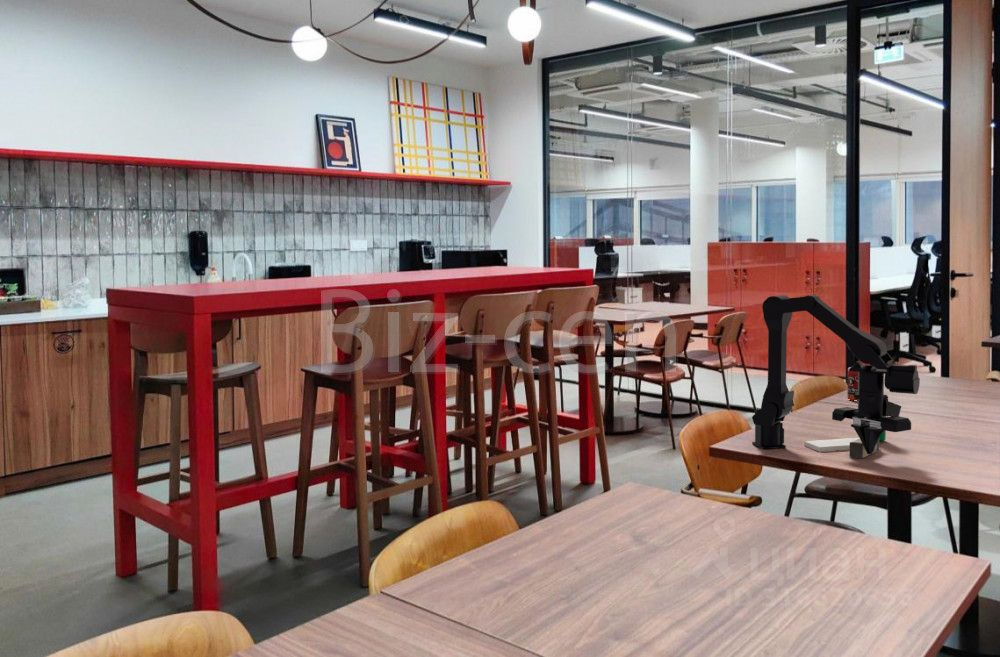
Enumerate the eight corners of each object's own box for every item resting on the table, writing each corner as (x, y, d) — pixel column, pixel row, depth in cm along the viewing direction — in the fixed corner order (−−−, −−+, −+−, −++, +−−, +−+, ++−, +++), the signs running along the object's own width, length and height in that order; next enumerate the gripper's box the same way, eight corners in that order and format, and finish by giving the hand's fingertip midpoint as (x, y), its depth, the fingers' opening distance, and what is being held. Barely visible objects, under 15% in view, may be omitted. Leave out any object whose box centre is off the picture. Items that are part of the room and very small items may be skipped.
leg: (869, 447, 214) (869, 433, 213) (881, 449, 212) (881, 435, 211) (849, 456, 204) (849, 442, 204) (861, 458, 202) (861, 444, 202)
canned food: (842, 399, 284) (842, 367, 283) (861, 397, 286) (862, 366, 285) (858, 402, 277) (858, 370, 276) (877, 401, 279) (878, 368, 278)
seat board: (827, 455, 207) (827, 450, 207) (804, 445, 218) (804, 441, 217) (884, 451, 210) (884, 446, 210) (858, 442, 221) (858, 437, 221)
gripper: (927, 392, 196) (926, 457, 197) (862, 383, 212) (861, 442, 214) (895, 397, 191) (894, 463, 192) (830, 386, 207) (830, 448, 209)
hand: (869, 453), depth 202 cm, fingers closed
